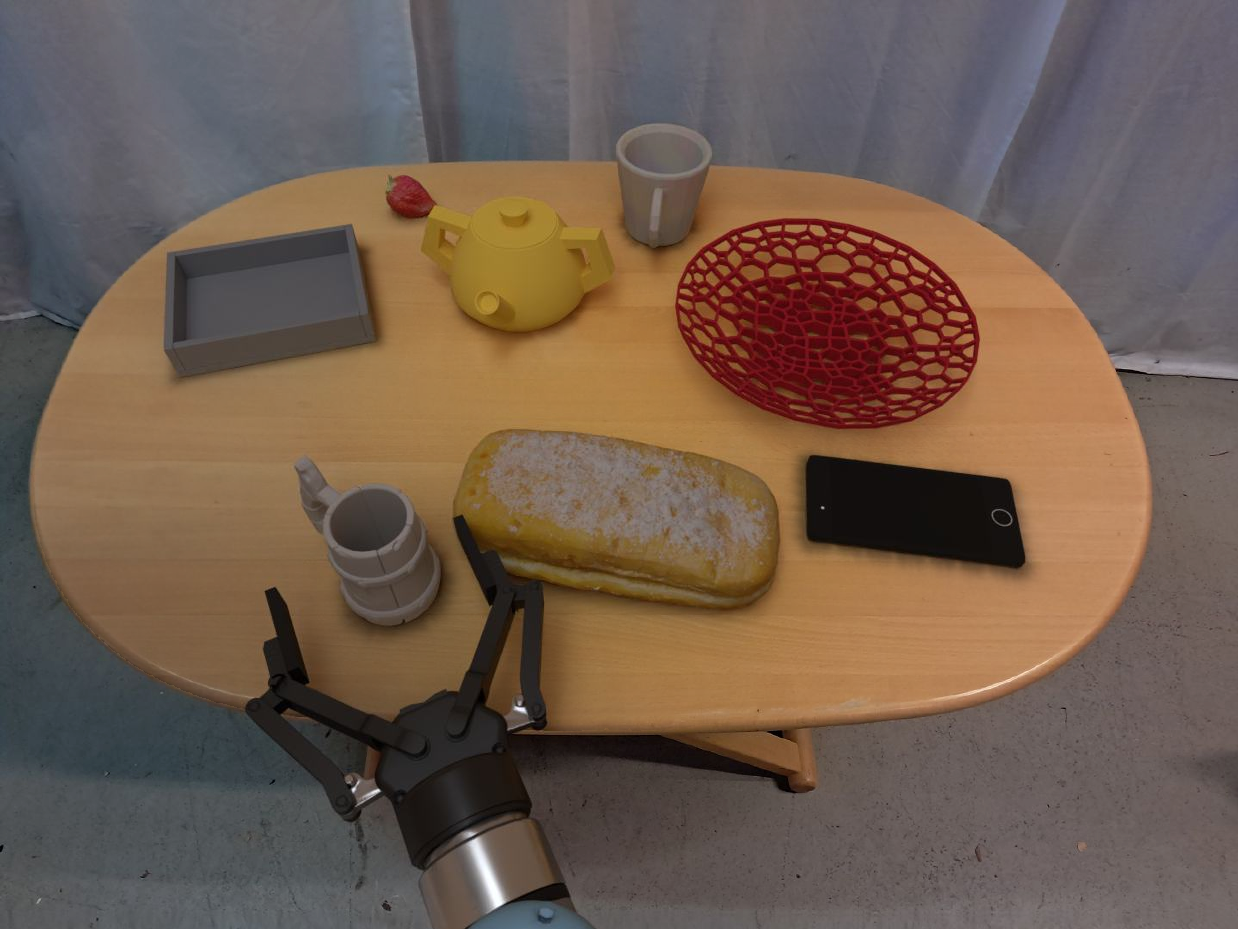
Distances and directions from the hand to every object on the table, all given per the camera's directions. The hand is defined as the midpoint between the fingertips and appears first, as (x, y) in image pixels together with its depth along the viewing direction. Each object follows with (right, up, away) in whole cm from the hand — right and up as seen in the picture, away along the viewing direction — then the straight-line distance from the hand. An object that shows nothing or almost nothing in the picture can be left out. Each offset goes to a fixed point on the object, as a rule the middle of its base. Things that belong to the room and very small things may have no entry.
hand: (371, 560), depth 58 cm
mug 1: (-2, -2, +7) cm, 7 cm away
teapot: (+7, +23, +26) cm, 36 cm away
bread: (+18, +1, +10) cm, 20 cm away
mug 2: (+22, +33, +34) cm, 52 cm away
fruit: (-6, +36, +36) cm, 51 cm away
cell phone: (+43, +3, +12) cm, 45 cm away
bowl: (+38, +19, +24) cm, 49 cm away
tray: (-17, +23, +25) cm, 38 cm away
